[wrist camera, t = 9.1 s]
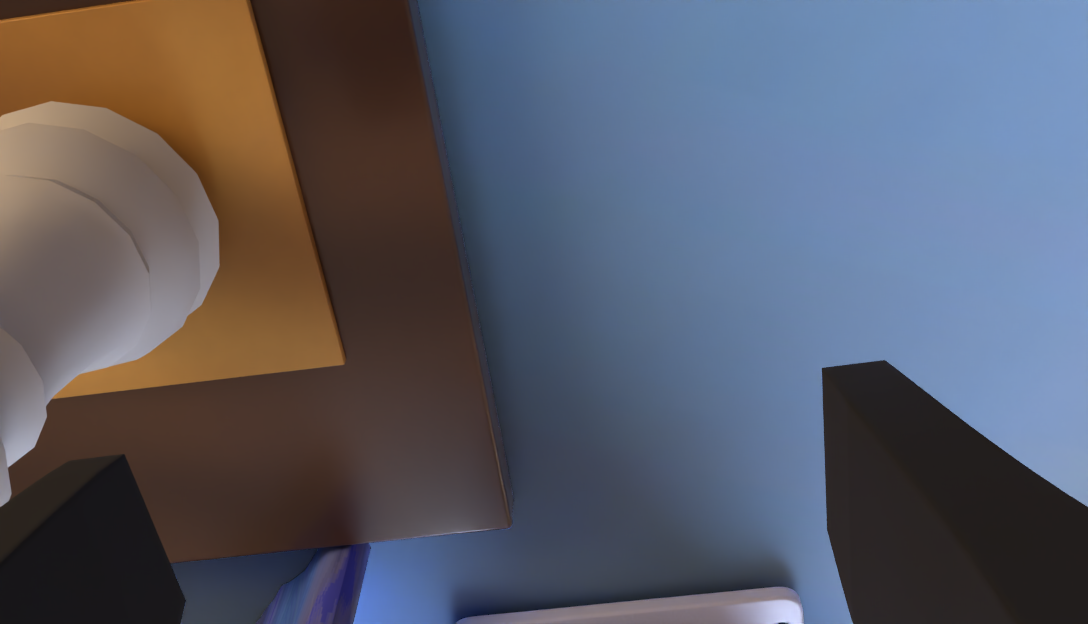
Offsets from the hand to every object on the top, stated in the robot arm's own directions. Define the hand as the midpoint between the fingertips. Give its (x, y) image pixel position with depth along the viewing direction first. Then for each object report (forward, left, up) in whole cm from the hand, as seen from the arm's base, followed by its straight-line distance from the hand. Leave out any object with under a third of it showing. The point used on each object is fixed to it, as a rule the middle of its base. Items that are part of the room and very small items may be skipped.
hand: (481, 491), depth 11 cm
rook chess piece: (+1, +7, -8) cm, 11 cm away
